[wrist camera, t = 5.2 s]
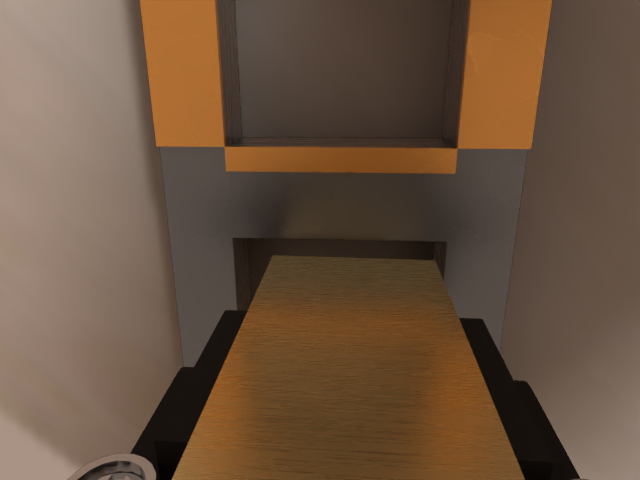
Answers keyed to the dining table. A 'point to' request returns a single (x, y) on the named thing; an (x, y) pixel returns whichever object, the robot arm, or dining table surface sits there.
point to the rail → (342, 163)
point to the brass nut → (350, 382)
